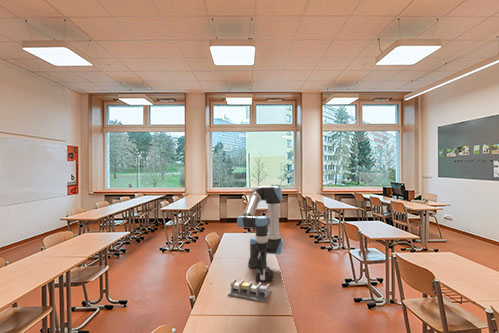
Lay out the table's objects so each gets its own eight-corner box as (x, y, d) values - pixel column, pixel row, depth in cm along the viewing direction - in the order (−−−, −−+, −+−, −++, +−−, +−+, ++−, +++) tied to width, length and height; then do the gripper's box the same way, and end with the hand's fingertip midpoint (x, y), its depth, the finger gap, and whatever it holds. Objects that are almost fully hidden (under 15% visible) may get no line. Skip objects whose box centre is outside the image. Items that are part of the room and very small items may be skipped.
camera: (257, 284, 176) (256, 270, 176) (254, 278, 186) (254, 264, 186) (275, 282, 178) (275, 268, 178) (272, 276, 188) (272, 263, 188)
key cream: (235, 285, 170) (235, 282, 170) (241, 286, 168) (241, 283, 168) (233, 288, 166) (233, 284, 166) (238, 289, 165) (238, 285, 165)
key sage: (252, 288, 165) (252, 285, 165) (258, 289, 164) (258, 286, 164) (250, 291, 162) (250, 287, 162) (256, 292, 160) (256, 288, 160)
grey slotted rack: (237, 285, 175) (237, 276, 175) (271, 291, 166) (271, 281, 166) (228, 295, 162) (228, 285, 162) (264, 302, 153) (264, 291, 153)
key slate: (261, 288, 163) (261, 285, 163) (267, 289, 162) (267, 286, 162) (259, 291, 160) (259, 288, 160) (265, 292, 158) (265, 289, 158)
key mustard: (243, 285, 168) (243, 282, 168) (249, 286, 166) (249, 283, 166) (241, 288, 164) (241, 285, 164) (247, 289, 163) (247, 286, 162)
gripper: (259, 238, 168) (260, 274, 168) (252, 244, 156) (253, 282, 156) (270, 239, 165) (271, 275, 165) (264, 245, 153) (264, 284, 153)
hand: (262, 279), depth 161 cm, fingers closed
